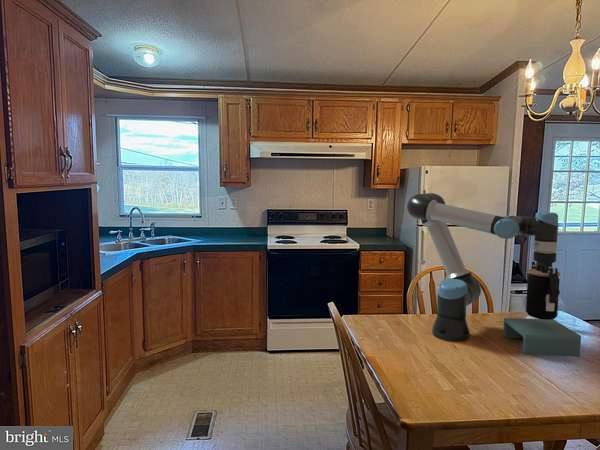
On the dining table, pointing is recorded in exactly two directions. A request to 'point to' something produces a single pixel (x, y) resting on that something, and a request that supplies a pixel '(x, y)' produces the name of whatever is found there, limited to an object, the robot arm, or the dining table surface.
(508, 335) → the green riser stand
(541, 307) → the coffee jar
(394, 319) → the dining table surface
